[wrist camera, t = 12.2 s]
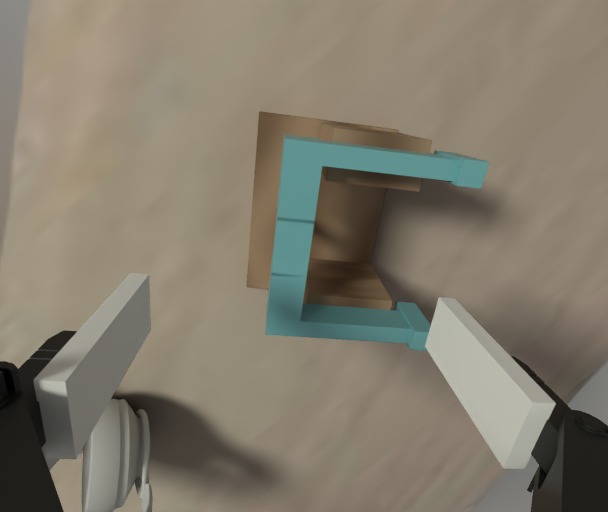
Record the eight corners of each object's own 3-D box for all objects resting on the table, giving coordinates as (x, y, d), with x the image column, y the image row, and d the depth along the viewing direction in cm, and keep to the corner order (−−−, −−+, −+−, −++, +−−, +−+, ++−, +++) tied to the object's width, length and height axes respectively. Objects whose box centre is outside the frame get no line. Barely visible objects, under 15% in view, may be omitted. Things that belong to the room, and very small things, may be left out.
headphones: (188, 387, 38) (107, 648, 20) (170, 454, 42) (88, 727, 24) (-5, 351, 35) (-315, 624, 17) (-5, 426, 39) (-262, 720, 20)
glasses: (456, 153, 24) (489, 162, 20) (410, 319, 29) (430, 350, 25) (284, 131, 23) (285, 136, 19) (266, 309, 27) (265, 340, 24)
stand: (394, 129, 30) (433, 137, 22) (360, 290, 35) (382, 339, 28) (259, 111, 28) (254, 113, 21) (247, 281, 34) (239, 330, 27)
